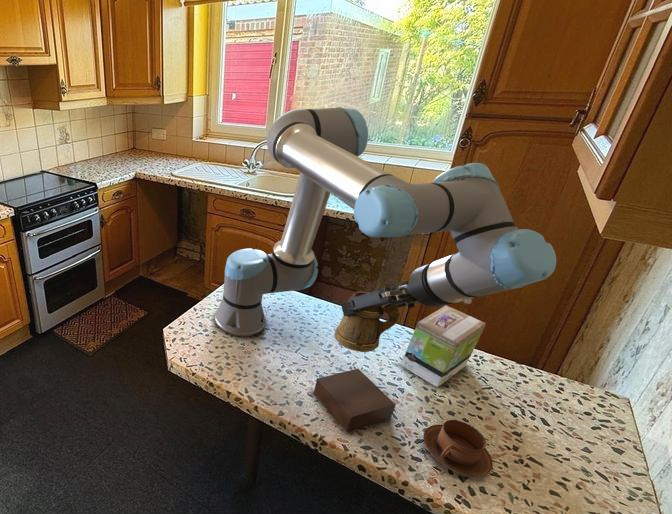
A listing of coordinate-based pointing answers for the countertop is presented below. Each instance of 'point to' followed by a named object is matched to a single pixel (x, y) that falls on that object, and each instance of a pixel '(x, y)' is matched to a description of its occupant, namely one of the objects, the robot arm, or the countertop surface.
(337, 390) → the walnut block
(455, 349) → the tea box
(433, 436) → the cup and saucer
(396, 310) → the wooden mug
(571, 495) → the countertop surface
